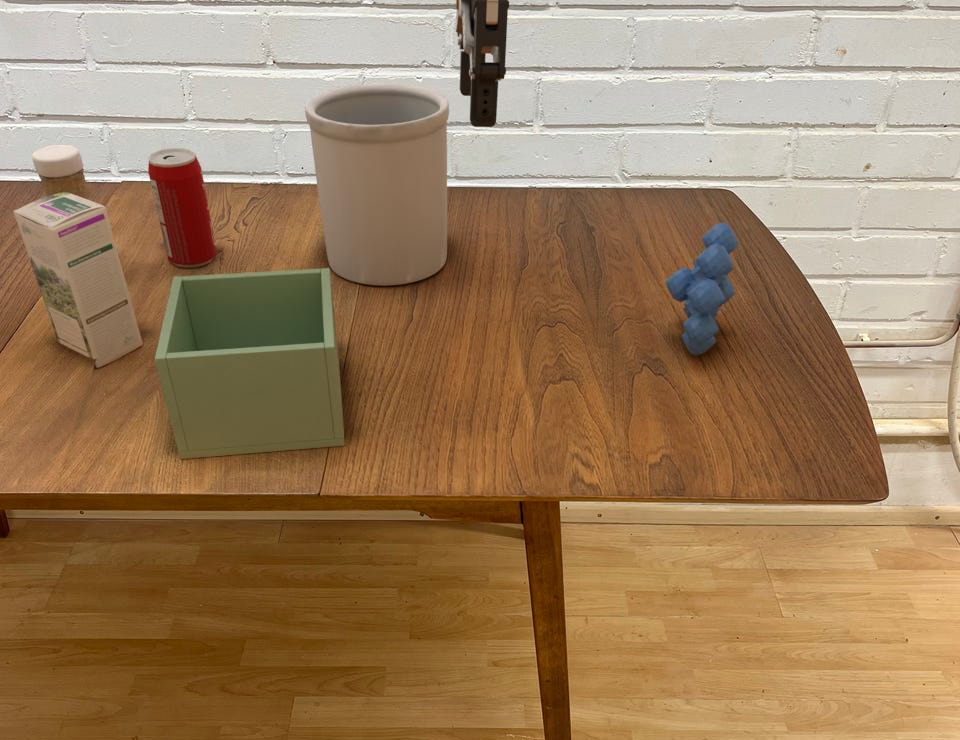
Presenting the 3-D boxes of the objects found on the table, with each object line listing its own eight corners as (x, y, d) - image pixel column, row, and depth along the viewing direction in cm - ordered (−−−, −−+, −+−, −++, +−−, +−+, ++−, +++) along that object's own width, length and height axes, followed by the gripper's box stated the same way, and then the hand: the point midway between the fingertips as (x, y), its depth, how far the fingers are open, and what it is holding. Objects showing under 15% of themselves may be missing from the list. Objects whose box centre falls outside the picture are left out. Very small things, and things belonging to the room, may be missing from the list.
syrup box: (145, 345, 88) (108, 202, 78) (95, 371, 84) (50, 225, 74) (108, 327, 90) (68, 187, 81) (57, 352, 86) (9, 208, 77)
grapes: (666, 308, 95) (684, 199, 87) (730, 319, 93) (754, 209, 86) (646, 363, 86) (664, 248, 79) (716, 376, 85) (742, 260, 77)
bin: (180, 459, 74) (154, 358, 68) (194, 370, 84) (173, 276, 78) (344, 446, 76) (334, 346, 69) (339, 360, 86) (329, 267, 80)
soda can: (226, 258, 102) (208, 154, 95) (185, 273, 99) (162, 167, 91) (199, 243, 105) (179, 140, 97) (158, 258, 102) (134, 153, 94)
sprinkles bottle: (110, 260, 101) (78, 141, 93) (112, 277, 98) (79, 156, 90) (67, 265, 100) (31, 145, 92) (68, 284, 97) (30, 161, 88)
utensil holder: (296, 255, 103) (276, 98, 92) (398, 221, 111) (391, 72, 100) (372, 303, 95) (360, 136, 84) (476, 262, 102) (479, 105, 91)
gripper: (430, -119, 74) (429, 85, 85) (445, -94, 63) (442, 137, 74) (518, -116, 75) (506, 86, 85) (548, -91, 64) (531, 137, 75)
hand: (476, 109), depth 80 cm, fingers open, 8 cm apart
